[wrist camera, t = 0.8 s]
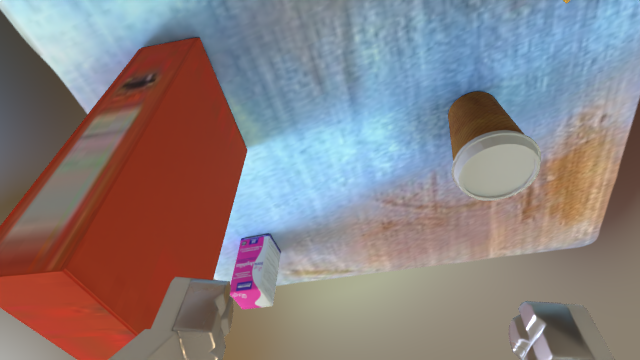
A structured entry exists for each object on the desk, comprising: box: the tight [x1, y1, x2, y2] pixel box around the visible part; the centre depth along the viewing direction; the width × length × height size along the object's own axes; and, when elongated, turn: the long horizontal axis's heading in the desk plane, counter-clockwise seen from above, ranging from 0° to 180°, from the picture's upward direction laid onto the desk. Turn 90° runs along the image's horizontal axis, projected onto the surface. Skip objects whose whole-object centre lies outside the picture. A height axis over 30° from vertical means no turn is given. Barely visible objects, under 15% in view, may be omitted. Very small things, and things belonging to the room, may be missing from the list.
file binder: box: [0, 38, 247, 360], centre depth 42 cm, size 8×17×32 cm, turn 12°
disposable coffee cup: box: [448, 92, 541, 201], centre depth 49 cm, size 10×10×12 cm
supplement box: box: [230, 234, 281, 309], centre depth 71 cm, size 6×6×12 cm
